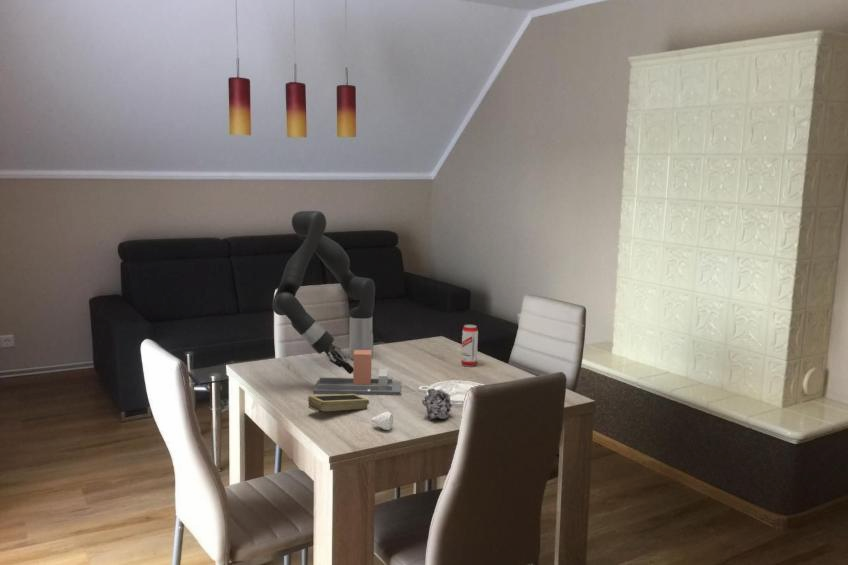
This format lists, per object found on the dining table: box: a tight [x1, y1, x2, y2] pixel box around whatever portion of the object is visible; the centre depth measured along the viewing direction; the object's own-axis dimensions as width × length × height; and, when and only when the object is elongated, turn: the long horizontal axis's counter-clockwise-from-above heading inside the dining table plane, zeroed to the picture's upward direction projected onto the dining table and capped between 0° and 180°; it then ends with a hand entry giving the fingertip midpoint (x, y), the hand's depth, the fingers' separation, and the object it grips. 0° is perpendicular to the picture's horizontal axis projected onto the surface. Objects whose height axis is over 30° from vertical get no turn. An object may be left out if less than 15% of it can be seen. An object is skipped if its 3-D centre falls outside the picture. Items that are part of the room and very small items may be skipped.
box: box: [307, 394, 370, 414], centre depth 233 cm, size 8×22×5 cm, turn 134°
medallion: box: [418, 379, 484, 408], centre depth 252 cm, size 24×27×2 cm
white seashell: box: [371, 411, 394, 431], centre depth 218 cm, size 6×6×5 cm
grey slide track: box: [313, 368, 402, 396], centre depth 255 cm, size 30×12×6 cm, turn 92°
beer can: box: [460, 324, 479, 368], centre depth 288 cm, size 6×6×16 cm
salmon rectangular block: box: [352, 350, 373, 385], centre depth 254 cm, size 6×6×12 cm
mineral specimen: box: [421, 389, 453, 421], centre depth 230 cm, size 13×10×11 cm
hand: (352, 371), depth 255 cm, fingers closed
